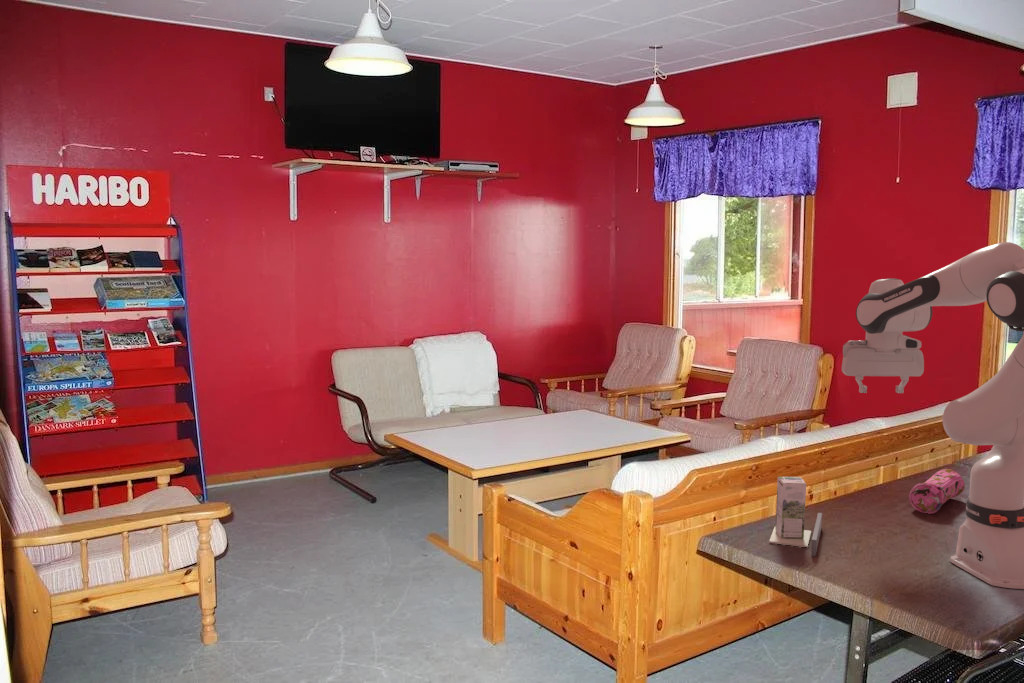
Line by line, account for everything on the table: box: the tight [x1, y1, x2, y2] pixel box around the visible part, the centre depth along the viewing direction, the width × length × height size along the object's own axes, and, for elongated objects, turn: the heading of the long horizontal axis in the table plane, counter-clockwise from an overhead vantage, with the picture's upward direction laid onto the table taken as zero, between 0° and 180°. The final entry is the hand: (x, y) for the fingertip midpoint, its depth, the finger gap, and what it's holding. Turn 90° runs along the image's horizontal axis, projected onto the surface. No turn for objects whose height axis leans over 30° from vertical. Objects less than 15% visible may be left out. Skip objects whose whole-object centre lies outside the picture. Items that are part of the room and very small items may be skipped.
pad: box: [768, 525, 812, 549], centre depth 217 cm, size 9×12×1 cm
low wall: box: [810, 512, 823, 557], centre depth 214 cm, size 1×22×4 cm, turn 157°
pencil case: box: [908, 468, 966, 515], centre depth 243 cm, size 21×9×9 cm, turn 138°
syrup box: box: [775, 476, 807, 539], centre depth 216 cm, size 6×6×14 cm
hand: (881, 392), depth 228 cm, fingers open, 8 cm apart
